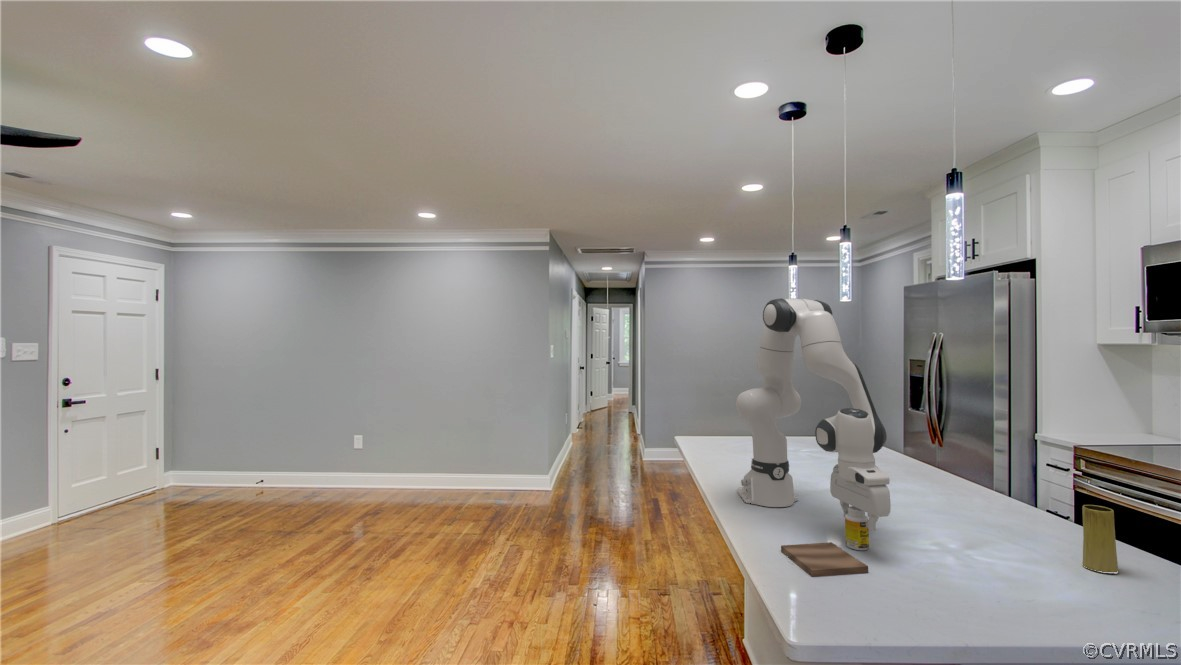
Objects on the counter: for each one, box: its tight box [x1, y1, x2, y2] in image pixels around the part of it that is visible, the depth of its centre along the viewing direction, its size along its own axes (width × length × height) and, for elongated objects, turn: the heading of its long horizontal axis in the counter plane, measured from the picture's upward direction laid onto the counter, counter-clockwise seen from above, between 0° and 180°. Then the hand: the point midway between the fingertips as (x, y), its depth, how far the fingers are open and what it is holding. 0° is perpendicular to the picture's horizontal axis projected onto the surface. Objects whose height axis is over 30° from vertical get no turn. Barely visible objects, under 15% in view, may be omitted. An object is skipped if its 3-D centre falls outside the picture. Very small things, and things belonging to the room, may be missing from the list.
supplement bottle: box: [844, 505, 870, 551], centre depth 137 cm, size 6×6×10 cm
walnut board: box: [780, 541, 869, 578], centre depth 128 cm, size 15×14×2 cm
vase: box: [1081, 504, 1120, 572], centre depth 121 cm, size 6×6×14 cm
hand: (859, 523), depth 136 cm, fingers open, 8 cm apart
